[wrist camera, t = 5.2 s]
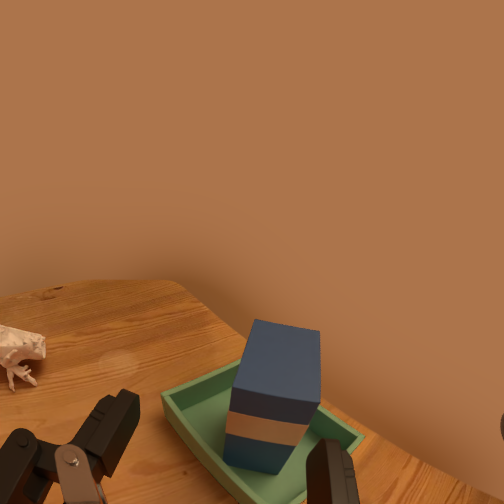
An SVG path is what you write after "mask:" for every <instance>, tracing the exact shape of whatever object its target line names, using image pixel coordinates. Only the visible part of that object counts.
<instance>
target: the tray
mask: <svg viewBox="0 0 504 504" xmlns="http://www.w3.org/2000/svg"><path fill="white" fill-rule="evenodd" d="M241 359H242V358H241ZM241 359H239V360H237V361H234V362H232V363H230V364H228V365H226V366H224V367H222V368H219V369H217V370H215V371H213V372H210V373H208V374H206V375H204V376H201V377H199V378H197V379H194V380H192V381H189V382H187V383H185V384H182V385H180V386H177V387H175V388H172V389H170V390H167V391H164V392H162V393H161V399H162V404H163V409H164V414H165V417H166V418H167V420H168V421H169V423H170V424H171V425H172V427H173V428H174V429H175V431H176V432H177V433H178V435H179V436H180V437H181V439H182V440H183V441H184V443H185V444H186V445H187V446H188V448H189V449H190V450H191V451H192V453H193V454H194V455H195V456H196V457H197V459H198V460H199V461H200V462H201V463H202V464H203V466H204V467H205V468H206V469H207V470H208V471H209V472H210V473H211V475H212V476H213V477H214V478H215V479H216V480H217V481H218V482H219V483H220V484H221V485H222V486H223V487H224V488H225V489H226V490H227V491H228V492H229V493H230V494H231V495H232V496H233V497H234V498H235V499H236V500H237V501H238V502H239V503H240V504H300V503H301V502H302V501H304V500H305V499H306V498H307V486H306V459H307V456H308V454H309V453H310V451H311V450H312V449H313V448H314V447H315V445H316V444H317V443H318V442H319V440H320V439H322V438H326V439H338V440H339V441H340V445H341V450H347V452H348V453H349V455H350V454H351V453H352V452H353V451H354V450H355V449H356V448H357V446H358V445H359V444H360V443H361V442H362V440H363V439H364V438H365V436H364V435H363V434H360V432H358V431H357V430H355V429H354V428H352V427H351V426H349V425H348V424H346V423H345V422H343V421H342V420H340V419H339V418H338V417H336V416H335V415H333V414H332V413H330V412H329V411H328V410H326V409H325V408H323V407H322V406H321V405H319V406H318V408H317V410H316V412H315V414H314V416H313V417H312V419H311V421H310V423H309V427H308V429H307V430H306V432H305V434H304V435H303V437H302V439H301V441H300V442H299V444H298V446H296V447H295V449H294V451H293V452H292V454H291V455H290V457H289V459H288V460H287V462H286V463H285V465H284V466H283V468H282V469H281V471H280V472H279V474H278V475H275V474H268V473H262V472H256V471H251V470H246V469H241V468H237V467H232V466H228V465H226V463H225V462H224V461H223V460H222V459H223V452H224V444H225V436H226V433H225V429H226V421H227V413H228V409H229V405H230V397H231V389H232V385H233V382H234V379H235V376H236V373H237V370H238V367H239V364H240V361H241Z"/></svg>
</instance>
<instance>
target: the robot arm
mask: <svg viewBox="0 0 504 504" xmlns="http://www.w3.org/2000/svg"><path fill="white" fill-rule="evenodd" d="M139 419H140V399H139V395H137V394H135V393H133V392H130V391H128V390H125V389H122V390H121V391H120V392H119V394H118V395H117V397H116V398H115V397H113V396H111V395H107V396H106V397H104V398H102V399H101V400H99V402H98V403H97V405H96V406H95V407H94V410H92V412H91V413H90V415H89V417H88V418H87V419H86V420H85V422H84V423H83V425H82V426H81V428H80V429H79V431H78V432H77V434H76V435H75V437H74V438H73V439H72V441H70V442H69V443H67V444H64V445H55V444H51V443H48V442H45V441H42V440H39V439H36V437H35V436H34V434H33V433H32V432H31V431H29V430H27V429H24V428H18V429H15V430H14V431H13V432H12V433H11V434H10V436H9V437H8V438H7V440H6V441H5V443H4V444H3V446H2V447H1V449H0V504H43V502H44V500H45V498H46V496H47V494H48V492H49V490H50V488H51V486H52V484H53V482H56V483H59V484H60V486H61V490H62V494H63V497H64V503H63V504H108V502H107V500H106V497H105V494H104V492H103V489H102V486H101V483H100V482H101V480H102V478H103V476H104V475H105V476H107V477H109V478H111V477H112V475H113V473H114V471H115V469H116V467H117V465H118V463H119V461H120V459H121V457H122V455H123V453H124V451H125V449H126V447H127V445H128V443H129V441H130V439H131V437H132V435H133V433H134V431H135V429H136V427H137V425H138V422H139ZM353 469H354V466H353V461H352V458H351V456H350V455H349V453H348V452H347V450H341V445H340V441H339V440H338V439H326V438H322V439H320V440H319V442H318V443H317V444H316V445H315V447H314V448H313V449H312V450H311V451H310V453H309V454H308V456H307V459H306V486H307V504H360V502H359V495H358V489H357V483H356V477H355V472H354V470H353Z"/></svg>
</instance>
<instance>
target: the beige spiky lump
mask: <svg viewBox="0 0 504 504" xmlns="http://www.w3.org/2000/svg"><path fill="white" fill-rule="evenodd" d="M43 340H45V337H42V336H41V334H37V333H31V332H27V331H22V330H19V329H16V328H11V327H6V326H2V325H0V364H1V365H2V366H3V367H4V368H6V369H7V377H8V380H9V387H10V389H11V390H13V392H15V389H14V383H13V379H12V378H14V373H15V374H16V375H17V376H19V377H20V378H22V379H23V380H24V381H29V382H31V383H32V384H33V385H34V386H38V384H37V383H36V381H35V379H34V378H32V377H31V376H30V375H29V373H30V372H31V369H30V370H28V371H25V370H26V369H27V368H28V365H25V366H24V367H21V366H19V365H18V363H19V362H20V361H21V360H24V359H37V360H41V359H45V356H46V347H45V343H44V341H43ZM33 343H34V344H33Z"/></svg>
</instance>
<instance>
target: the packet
mask: <svg viewBox="0 0 504 504" xmlns="http://www.w3.org/2000/svg"><path fill="white" fill-rule="evenodd" d="M320 365H321V364H320V332H319V331H316V330H310V329H304V328H298V327H293V326H288V325H282V324H277V323H272V322H267V321H261V320H258V319H255V320H254V323H253V326H252V329H251V332H250V335H249V338H248V341H247V344H246V347H245V350H244V353H243V356H242V359H241V361H240V364H239V367H238V370H237V373H236V376H235V379H234V382H233V385H232V389H231V397H230V405H229V409H228V413H227V421H226V429H225V433H226V436H225V444H224V452H223V459H222V460H223V461H224V462H225V463H226V465H228V466H232V467H237V468H241V469H246V470H251V471H256V472H262V473H268V474H275V475H278V474H279V472H280V471H281V469H282V468H283V466H284V465H285V463H286V462H287V460H288V459H289V457H290V455H291V454H292V452H293V451H294V449H295V447H296V446H298V444H299V442H300V441H301V439H302V437H303V435H304V434H305V432H306V430H307V429H308V427H309V423H310V421H311V419H312V417H313V416H314V414H315V412H316V410H317V408H318V406H319V404H320V392H321V390H320V389H321V369H320V368H321V367H320Z"/></svg>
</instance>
